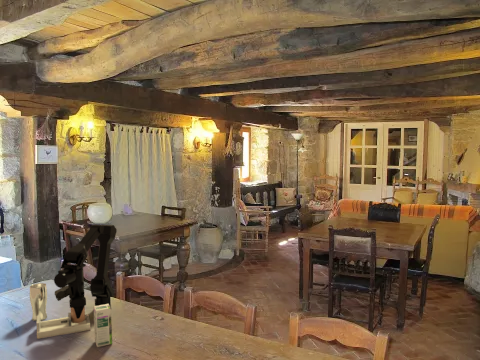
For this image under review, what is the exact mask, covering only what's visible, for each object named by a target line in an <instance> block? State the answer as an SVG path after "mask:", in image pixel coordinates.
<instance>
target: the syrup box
mask: <svg viewBox="0 0 480 360" xmlns="http://www.w3.org/2000/svg"><path fill="white" fill-rule="evenodd" d="M93 324H94V326H93V327H94V342H95V344H96V347H97V348H100V347H104V346H109V345H113V329H112V326H113V325H112V307H111V308H110V305H109V304H105V305H99V306H95V305H93Z"/></svg>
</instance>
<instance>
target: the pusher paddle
mask: <svg viewBox="0 0 480 360" xmlns="http://www.w3.org/2000/svg"><path fill="white" fill-rule="evenodd" d="M67 316H68V320H69V326H71V311H70V312H68V313H67ZM61 323H67V320H64V321H61Z"/></svg>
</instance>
